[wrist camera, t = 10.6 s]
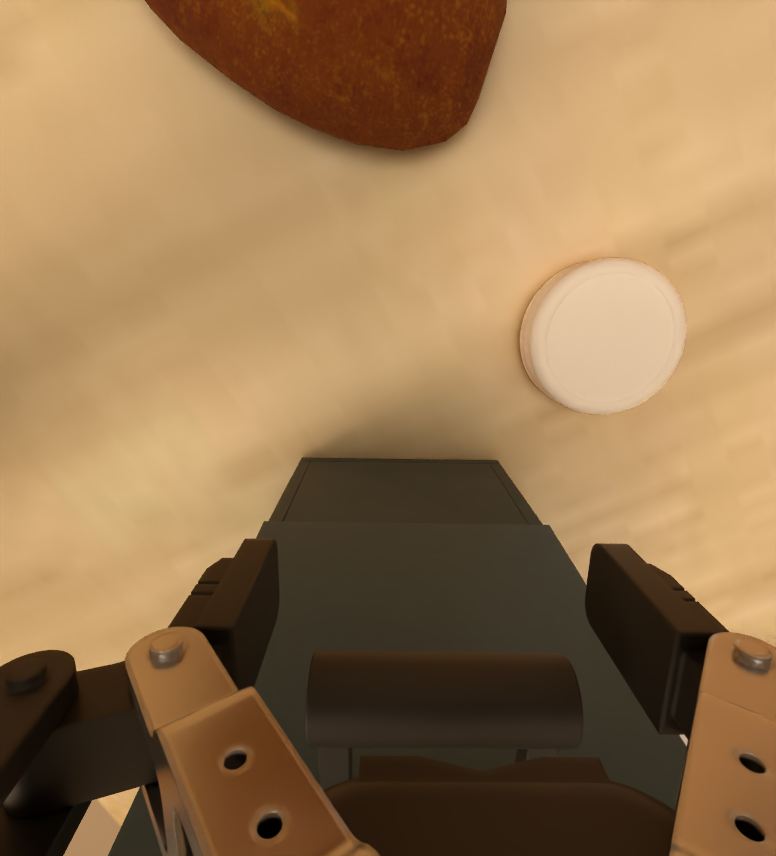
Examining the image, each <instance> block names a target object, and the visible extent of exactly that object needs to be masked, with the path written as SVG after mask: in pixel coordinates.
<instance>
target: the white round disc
mask: <svg viewBox="0 0 776 856" xmlns="http://www.w3.org/2000/svg"><path fill="white" fill-rule="evenodd" d="M686 333H687V323H686V315H685V310H684V306H683V303H682V300H681V298H680V296H679V294H678V292H677V291H676V289H675V288H674V286H673V285H672V283H671V282H670V281H669V280H668V279H667V278H666V277H665V276H664V275H663V274H661V273H660V272H659V271H657V270H656V269H654V268H652V267H650V266H649V265H647V264H645V263H642V262H639V261H636V260H632V259H628V258H618V257H612V258H602V259H597V260H592V261H586V262H582V263H578V264H575V265H572V266H570V267H567V268H566V269H564V270H562V271H560V272H558V273H557V274H556V275H554V276H553V277H551V278H550V279H549V280H548V281H547V282H546V283H545V284H544V285H543V286H542V287H541V288H540V289H539V290H538V291H537V293H536V294H535V296H534V297H533V299H532V300H531V302H530V304H529V306H528V308H527V310H526V313H525V315H524V318H523V322H522V326H521V332H520V353H521V358H522V362H523V365H524V367H525V370H526V372H527V374H528V376H529V377H530V379H531V380H532V382H533V383H534V384H535V385H536V387H537V388H538V389H539V390H540V391H542V392H543V393H544V394H545V395H547V396H548V397H549V398H551V399H553V400H555V401H556V402H558V403H560V404H561V405H563V406H565V407H567V408H569V409H571V410H574V411H577V412H580V413H586V414H593V415H605V414H614V413H618V412H623V411H626V410H629V409H632V408H634V407H636V406H638V405H640V404H642V403H643V402H645V401H646V400H648V399H650V398H651V397H652V396H653V395H654V394H656V393H657V392H658V391H659V390H660V389H661V388H662V387H663V386H664V385H665V384H666V382H667V381H668V380H669V379H670V377H671V376H672V374H673V372H674V371H675V369H676V367H677V365H678V363H679V361H680V359H681V356H682V353H683V350H684V346H685V341H686Z"/></svg>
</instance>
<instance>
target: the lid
mask: <svg viewBox="0 0 776 856" xmlns="http://www.w3.org/2000/svg"><path fill="white" fill-rule="evenodd" d="M256 539H276V542H277V548H278V570H279V595H280V596H279V610H278V616H277V620H276V624H275V627H274V629H273V632H272V635H271V638H270V641H269V644H268V647H267V650H266V653H265V656H264V659H263V662H262V665H261V668H260V671H259V674H258V677H257V680H256V683H255V686H254V689H255V690H256V691H257V692H258V694H259V695H260V697H261V698H262V700H263V701H264V703H265V704H266V706H267V707H268V709H269V710H270V712H271V713H272V715H273V716H274V718H275V719H276V721H277V722H278V724H279V725H280V727H281V728H282V730H283V731H284V733H285V734H286V736H287V737H288V739H289V740H290V742H291V743H292V745H293V746H294V748H295V749H296V751H297V752H298V754H299V755H300V757H301V758H302V760H303V761H304V763H305V764H306V766H307V767H308V769H309V770H310V772H311V773H312V775H313V776H314V778H315V779H316V781H317V782H318V784H319V785H320V787H321V788H322V790H323V791H324V790H326V789H328V788H330V787H331V786H333V785H336V784H338V783H341V782H344V781H346V780H349V779H353V778H357V777H359V765H360V756H421V757H425V758H429V759H434V760H438V761H442V762H446V763H450V764H454V765H458V766H463V767H467V768H471V769H475V770H482V771H485V770H491V769H495V768H498V767H502V766H506V765H510V764H514V763H518V762H522V761H526V760H530V759H534V758H538V757H599V758H600V761H601V763H602V765H603V767H604V769H605V771H606V773H607V776H608V778H609V780H613V781H616V782H619V783H622V784H625V785H628V786H631V787H633V788H636V789H638V790H640V791H642V792H645V793H647V794H649V795H651V796H652V797H654V798H656V799H658V800H660V801H662V802H663V803H665V804H666V805H668V806H669V807H671V808H673V809H675V804H676V798H677V793H678V788H679V783H680V778H681V772H682V767H683V762H684V757H685V752H686V747H687V746H686V744H685V743H684V741H683V740H682V738H681V736H680V735H659V733H658V732H657V730H656V729H655V727H654V725H653V724H652V722H651V721H650V719H649V718H648V716H647V714H646V713H645V711H644V710H643V708H642V706H641V705H640V703H639V702H638V700H637V699H636V697H635V695H634V694H633V692H632V691H631V689H630V688H629V686H628V684H627V683H626V681H625V680H624V678H623V676H622V675H621V673H620V672H619V670H618V669H617V667H616V665H615V664H614V662H613V661H612V659H611V657H610V656H609V654H608V653H607V651H606V650H605V648H604V646H603V645H602V643H601V642H600V640H599V638H598V637H597V635H596V634H595V632H594V631H593V629H592V627H591V626H590V624H589V622H588V619H587V616H586V611H585V594H586V586H587V585H586V584H585V582H584V580H583V579H582V577H581V576H580V574H579V572H578V571H577V569H576V568H575V566H574V564H573V563H572V561H571V559H570V558H569V556H568V555H567V553H566V551H565V550H564V548H563V547H562V545H561V543H560V542H559V540H558V539H557V537H556V535H555V534H554V532H553V531H552V529H551V527H550V526H549V525H510V524H432V523H354V522H275V521H264V523H263V525H262V527H261V529H260V531H259V533H258V535H257V538H256ZM108 856H162V853H161V850H160V847H159V843H158V840H157V837H156V833H155V830H154V827H153V824H152V820H151V817H150V814H149V810H148V807H147V804H146V801H145V797H144V794H143V791H142V786H140V788H139V790H138V792H137V795H136V797H135V799H134V801H133V803H132V805H131V807H130V810H129V812H128V814H127V816H126V818H125V820H124V822H123V825H122V827H121V829H120V831H119V833H118V835H117V837H116V840H115V842H114V844H113V846H112V848H111V850H110V853H109V855H108Z"/></svg>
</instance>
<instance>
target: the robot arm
mask: <svg viewBox="0 0 776 856" xmlns="http://www.w3.org/2000/svg"><path fill="white" fill-rule="evenodd" d="M279 596H280V595H279V570H278V548H277V542H276V539H245V540H244V541H243V543H242V545H241V547H240V548H239V550H238V552H237V553H236V555H235V557H234V558H222V559H220V560H219V561H217V562H216V563H214V564H213V565H212V566H210V567H209V568H207V569H206V571H205V572H204V574H203V575H202V577H201V578H200V580H199V581H198V584H196V586H195V587H194V589H193V590H192V592H191V595H189V596H188V598H187V599H186V601H185V602H184V604H183V605H182V607H181V609H180V610H179V612H178V613H177V615H176V616H175V618H174V619H173V621H172V622H171V624H170V625H169V627H168V628H166V629H162V630H159V631H156V632H153V633H151V634H149V635H147V636H145V637H144V638H142V639H140V640H139V641H138V642H137V643H135V644H134V645H133V646H132V647H131V648H130V650H129V651H128V653H127V655H126V657H125V661H123V662H120V663H116V664H112V665H107V666H102V667H97V668H92V669H88V670H83V671H78V672H77V671H76V665H75V661H74V658H73V657H72V655H70V654H69V653H67V652H64V651H59V650H46V651H39V652H35V653H31V654H27V655H24V656H21V657H19V658H17V659H14V660H12V661H10V662H8V663H6V664H4V665H3V666H1V667H0V856H63V855H64V853H65V851H66V849H67V847H68V845H69V843H70V841H71V840H72V838H73V835H74V833H75V832H76V830H77V828H78V826H79V824H80V822H81V820H82V818H83V817H84V815H85V813H86V811H87V809H88V807H89V805H90V803H91V801H92V800H95V799H98V798H101V797H105V796H108V795H112V794H115V793H119V792H122V791H126V790H129V789H133V788H136V787H140V786H142V791H143V794H144V797H145V801H146V804H147V807H148V810H149V814H150V817H151V820H152V824H153V827H154V830H155V833H156V837H157V840H158V843H159V847H160V850H161V853H162V856H776V647H774V646H772V645H770V644H768V643H766V642H764V641H762V640H760V639H757V638H754V637H751V636H748V635H744V634H739V633H732V632H729V631H728V630H727V629H726V628H725V627H724V626H723V625H722V624H721V623H720V622H719V621H717V620H716V619H715V618H714V617H713V616H712V615H711V614H710V613H709V612H708V611H707V610H706V609H705V608H704V607H703V606H702V605H701V604H700V603H699V602H695V598H694V597H693V596H692V595H690V594H689V593H688V592H687V591H684V588H683V587H682V586H681V585H680V584H679V583H678V582H677V581H676V580H675V579H674V578H673V577H672V576H671V575H669V574H667V573H666V572H664V571H662V570H660V569H659V568H657V567H655V566H653V565H652V564H647V563H646V562H645V561H644V560H643V559H642V558H641V557H640V556H639V555H638V554H637V553H636V552H635V551H634V550H633V549H632V548H631V547H630V546H629V545H627V544H595V545H594V546H593V548H592V551H591V556H590V563H589V571H588V579H587V586H586V594H585V611H586V616H587V619H588V622H589V624H590V626H591V627H592V629H593V631H594V632H595V634H596V635H597V637H598V638H599V640H600V642H601V643H602V645H603V646H604V648H605V650H606V651H607V653H608V654H609V656H610V657H611V659H612V661H613V662H614V664H615V665H616V667H617V669H618V670H619V672H620V673H621V675H622V676H623V678H624V680H625V681H626V683H627V684H628V686H629V688H630V689H631V691H632V692H633V694H634V695H635V697H636V699H637V700H638V702H639V703H640V705H641V706H642V708H643V710H644V711H645V713H646V714H647V716H648V718H649V719H650V721H651V722H652V724H653V725H654V727H655V729H656V730H657V732H658V733H659V735H685V736H686V738H687V739H688V742H687V747H686V752H685V757H684V762H683V767H682V772H681V778H680V783H679V788H678V793H677V798H676V804H675V809H673V808H671V807H669V806H668V805H666V804H665V803H663V802H662V801H660V800H658V799H656V798H654V797H652V796H651V795H649V794H647V793H645V792H642V791H640V790H638V789H636V788H633V787H631V786H628V785H625V784H622V783H619V782H616V781H613V780H609V778H608V776H607V773H606V771H605V769H604V767H603V765H602V763H601V761H600V758H599V757H538V758H534V759H530V760H526V761H522V762H518V763H514V764H510V765H506V766H502V767H498V768H495V769H491V770H485V771H482V770H475V769H471V768H467V767H463V766H458V765H454V764H450V763H446V762H442V761H438V760H434V759H429V758H425V757H421V756H360V765H359V777H357V778H353V779H349V780H346V781H344V782H341V783H338V784H336V785H333V786H331V787H330V788H328V789H326V790H324V791H323V790H322V788H321V787H320V785H319V784H318V782H317V781H316V779H315V778H314V776H313V775H312V773H311V772H310V770H309V769H308V767H307V766H306V764H305V763H304V761H303V760H302V758H301V757H300V755H299V754H298V752H297V751H296V749H295V748H294V746H293V745H292V743H291V742H290V740H289V739H288V737H287V736H286V734H285V733H284V731H283V730H282V728H281V727H280V725H279V724H278V722H277V721H276V719H275V718H274V716H273V715H272V713H271V712H270V710H269V709H268V707H267V706H266V704H265V703H264V701H263V700H262V698H261V697H260V695H259V694H258V692H257V691H256V690H255V689H254V686H255V683H256V680H257V677H258V674H259V671H260V668H261V665H262V662H263V659H264V656H265V653H266V650H267V647H268V644H269V641H270V638H271V635H272V632H273V629H274V627H275V624H276V620H277V616H278V610H279Z"/></svg>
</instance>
